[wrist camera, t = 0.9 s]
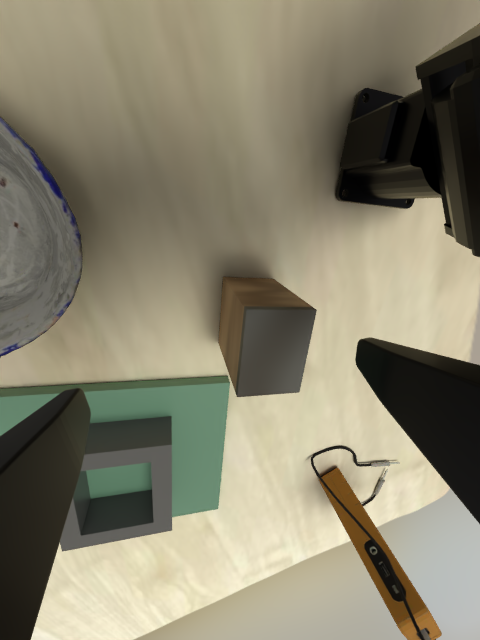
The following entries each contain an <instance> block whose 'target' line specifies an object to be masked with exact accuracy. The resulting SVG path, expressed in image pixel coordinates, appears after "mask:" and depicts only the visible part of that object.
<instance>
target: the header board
mask: <svg viewBox="0 0 480 640" xmlns="http://www.w3.org/2000/svg"><path fill="white" fill-rule="evenodd" d="M229 386H230V382H229V379H228V376H218V377H200V378H182V379H165V380H147V381H129V382H111V383H94V384H76V385H58V386H40V387H23V388H5V389H0V436H1V435H3V434H4V433H5V432H7V431H8V430H10V429H11V428H12V427H14V426H15V425H17V424H18V423H19V422H21V421H22V420H24V419H25V418H26V417H28V416H29V415H31V414H32V413H33V412H35V411H36V410H38V409H39V408H40V407H42V406H43V405H45V404H46V403H47V402H49V401H50V400H52V399H53V398H55V397H56V396H57V395H59V394H60V393H62V392H63V391H64V390H67V389H73V388H81V389H82V390H83V391H84V394H85V396H86V399H87V402H88V404H89V407H90V410H91V419H90V425H89V430H88V436H87V442H86V447H85V453H84V459H83V464H82V468H81V472H80V475H79V479H78V482H77V486H76V489H75V492H74V496H73V499H72V502H71V506H70V509H69V512H68V516H67V519H66V523H65V526H64V529H63V533H62V536H61V539H60V545H61V549H62V551H67V550H72V549H78V548H83V547H88V546H93V545H98V544H104V543H109V542H114V541H119V540H125V539H130V538H135V537H140V536H145V535H151V534H156V533H161V532H166V531H172V517H176V516H181V515H187V514H192V513H198V512H204V511H209V510H215V509H218V504H219V494H220V483H221V472H222V461H223V451H224V440H225V429H226V418H227V408H228V397H229Z"/></svg>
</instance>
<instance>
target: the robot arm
mask: <svg viewBox="0 0 480 640" xmlns="http://www.w3.org/2000/svg"><path fill="white" fill-rule="evenodd" d="M416 72H417V78H418V80H419V79H421V85H422V89H420V90H418V91H416V92H414V93H412V94H410V95H407V96H405V97H402V96H398V95H394V94H390V93H386V92H382V91H378V90H374V89H369V88H365V89H363V90H361V91H360V92H358V94H357V95H356V98H355V102H354V107H353V112H352V117H351V122H350V123H349V124H348V129H347V134H346V139H345V143H344V148H343V153H342V158H341V163H340V166H341V171H340V176H339V180H338V185H337V190H336V198H337V199H338V200H339V201H344V202H353V203H361V204H369V205H378V206H386V207H394V208H403V209H407V208H410V207H411V206H412V205H413V203H414V199H415V198H442V203H443V208H444V214H445V220H446V223H445V224H444V226H445V232H446V234H448V235H450V236H452V237H454V238H455V239H456V242H458V243H459V244H461V245H463V246H465V247H467V248H469V249H472V254H473V255H474V256H477V257H480V23H479V24H478V25H476V26H475V27H474V28H472V29H471V30H469V31H468V32H466V33H465V34H463V35H462V36H460V37H459V38H457V39H456V40H454V41H453V42H451V43H450V44H448V45H447V46H445V47H444V48H442V49H441V50H439V51H438V52H436V53H435V54H434V55H432V56H431V57H429V58H428V59H426V60H425V61H423V62H422V63H420V64H419V65H417V66H416ZM363 96H365V103H364V102H363V100H362V97H363ZM343 190H345V196H344V197H343V196H342V192H343ZM406 199H407V203H405V202H406ZM356 365H357V367H358V369H359V370H360V372H361V373H362V375H363V376H364V378H365V379H366V381H367V382H368V384H369V385H370V387H371V388H372V390H373V391H374V393H375V394H376V396H377V397H378V399H379V400H380V401H381V403H382V404H383V405H384V407H385V408H386V409H387V410H388V412H389V413H390V414H391V415H392V416H393V418H394V419H395V420H396V421H397V423H398V424H399V425H400V426H401V428H402V429H403V430H404V431H405V433H406V434H407V435H408V436H409V437H410V439H411V440H412V441H413V442H414V444H415V445H416V446H417V447H418V449H419V450H420V451H421V452H422V453H423V455H424V456H425V457H426V458H427V460H428V461H429V462H430V463H431V465H432V466H433V467H434V468H435V469H436V471H437V472H438V473H439V474H440V476H441V477H442V478H443V479H444V481H445V482H446V483H447V484H448V485H449V487H450V488H451V489H452V490H453V492H454V493H455V494H456V495H457V497H458V498H459V499H460V500H461V502H462V503H463V504H464V505H465V506H466V508H467V509H468V510H469V511H470V513H471V514H472V515H473V516H474V518H475V519H476V520H477V521H478V522H479V524H480V365H477V364H473V363H469V362H465V361H461V360H457V359H453V358H449V357H445V356H441V355H437V354H434V353H430V352H426V351H422V350H418V349H414V348H410V347H406V346H402V345H398V344H395V343H391V342H387V341H383V340H379V339H375V338H365V339H360V340H359V342H358V345H357V352H356ZM90 419H91V410H90V407H89V404H88V402H87V399H86V396H85V394H84V391H83V390H82V389H81V388H73V389H67V390H64V391H63V392H62V393H60V394H59V395H57V396H56V397H55V398H53V399H52V400H50V401H49V402H47V403H46V404H45V405H43V406H42V407H40V408H39V409H38V410H36V411H35V412H33V413H32V414H31V415H29V416H28V417H26V418H25V419H24V420H22V421H21V422H19V423H18V424H17V425H15V426H14V427H12V428H11V429H10V430H8V431H7V432H5V433H4V434H3V435H1V436H0V640H31V637H32V633H33V630H34V627H35V623H36V620H37V617H38V613H39V610H40V606H41V603H42V600H43V596H44V593H45V590H46V586H47V583H48V580H49V576H50V573H51V570H52V566H53V563H54V559H55V556H56V553H57V549H58V546H59V543H60V539H61V536H62V533H63V529H64V526H65V523H66V519H67V516H68V512H69V509H70V506H71V502H72V499H73V496H74V492H75V489H76V486H77V482H78V479H79V475H80V472H81V468H82V464H83V459H84V453H85V447H86V442H87V436H88V430H89V425H90Z"/></svg>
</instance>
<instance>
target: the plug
mask: <svg viewBox="0 0 480 640" xmlns="http://www.w3.org/2000/svg"><path fill="white" fill-rule="evenodd" d="M316 311H317V310H316V309H315V308H313V307H312V306H310V305H309V304H308V303H306V302H305V301H303V300H302V299H301V298H299V297H298V296H297V295H295V294H294V293H292V292H291V291H290V290H288V289H287V288H285V287H284V286H283V285H281V284H280V283H279V282H277V281H276V280H274V279H266V278H238V277H223V285H222V299H221V313H220V328H219V342H218V343H219V346H220V349H221V352H222V355H223V357H224V360H225V363H226V366H227V369H228V372H229V375H230V378H231V381H232V383H233V386H234V389H235V392H236V395H237V397H245V396H258V395H271V394H284V393H297V392H299V391H300V387H301V382H302V377H303V372H304V368H305V363H306V358H307V353H308V349H309V344H310V339H311V334H312V330H313V325H314V320H315V315H316Z"/></svg>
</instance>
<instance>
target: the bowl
mask: <svg viewBox="0 0 480 640" xmlns="http://www.w3.org/2000/svg"><path fill="white" fill-rule="evenodd" d="M81 272H82V246H81V236H80V233H79V230H78V226H77V222H76V219H75V217H74V215H73V213H72V211H71V209H70V207H69V206H68V203H67V200H66V199H65V197H64V195H63V193H62V192H61V190H60V188H59V186H58V184H57V183H56V181H55V179H54V178H53V176H52V175H51V173H50V172H49V171H48V169H47V168H46V167H45V166H44V164H43V163H42V161H41V160H40V158H39V157H38V156H37V154H36V152H35V151H34V149H33V148H32V147H30V146H29V145H28V144H27V143H26V142H25V141H24V140H23V139H22V138H21V137H20V136H19V135H18V134H17V133H16V132H15V131H14V130H13V129H12V128H11V127H10V126H9V125H8V124H7V123H6V122H5V121H4V120H3V119H2V118H1V117H0V358H1V356H3V355H6V354H8V353H10V352H12V351H14V350H16V349H19V348H21V347H22V346H24V345H26V344H28V343H30V342H32V341H33V340H35V339H36V338H38V337H39V336H40V335H42V334H43V333H45V332H46V331H47V330H48V329H49V328H50V327H51V326H53V325H54V324H55V323H56V322H57V321H58V320H59V318H60V317H61V316H62V315H63V314H64V312H65V311H66V309H67V308H68V307H69V305H70V304H71V302H72V300H73V298H74V296H75V293H76V290H77V287H78V284H79V281H80V278H81Z"/></svg>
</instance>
